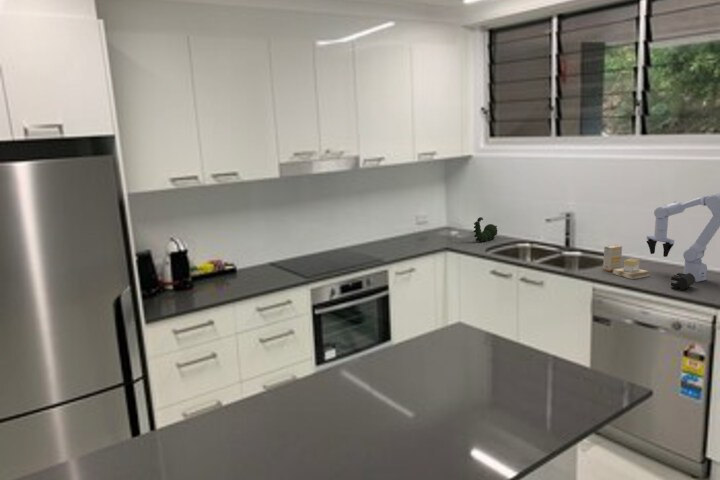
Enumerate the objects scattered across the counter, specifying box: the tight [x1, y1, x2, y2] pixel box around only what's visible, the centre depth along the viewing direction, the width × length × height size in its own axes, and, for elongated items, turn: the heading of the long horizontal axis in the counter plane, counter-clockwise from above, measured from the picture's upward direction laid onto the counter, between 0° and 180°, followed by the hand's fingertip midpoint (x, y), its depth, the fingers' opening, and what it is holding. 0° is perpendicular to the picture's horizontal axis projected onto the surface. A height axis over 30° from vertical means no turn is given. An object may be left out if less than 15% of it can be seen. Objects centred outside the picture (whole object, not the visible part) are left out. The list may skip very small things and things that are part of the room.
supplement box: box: [602, 244, 623, 272], centre depth 289 cm, size 8×5×13 cm, turn 111°
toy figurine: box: [473, 217, 498, 243], centre depth 375 cm, size 9×19×25 cm
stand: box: [612, 267, 650, 280], centre depth 278 cm, size 12×12×2 cm
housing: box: [622, 257, 640, 272], centre depth 278 cm, size 8×5×6 cm, turn 129°
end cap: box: [670, 272, 696, 291], centre depth 253 cm, size 10×7×7 cm
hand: (658, 255), depth 280 cm, fingers open, 7 cm apart
